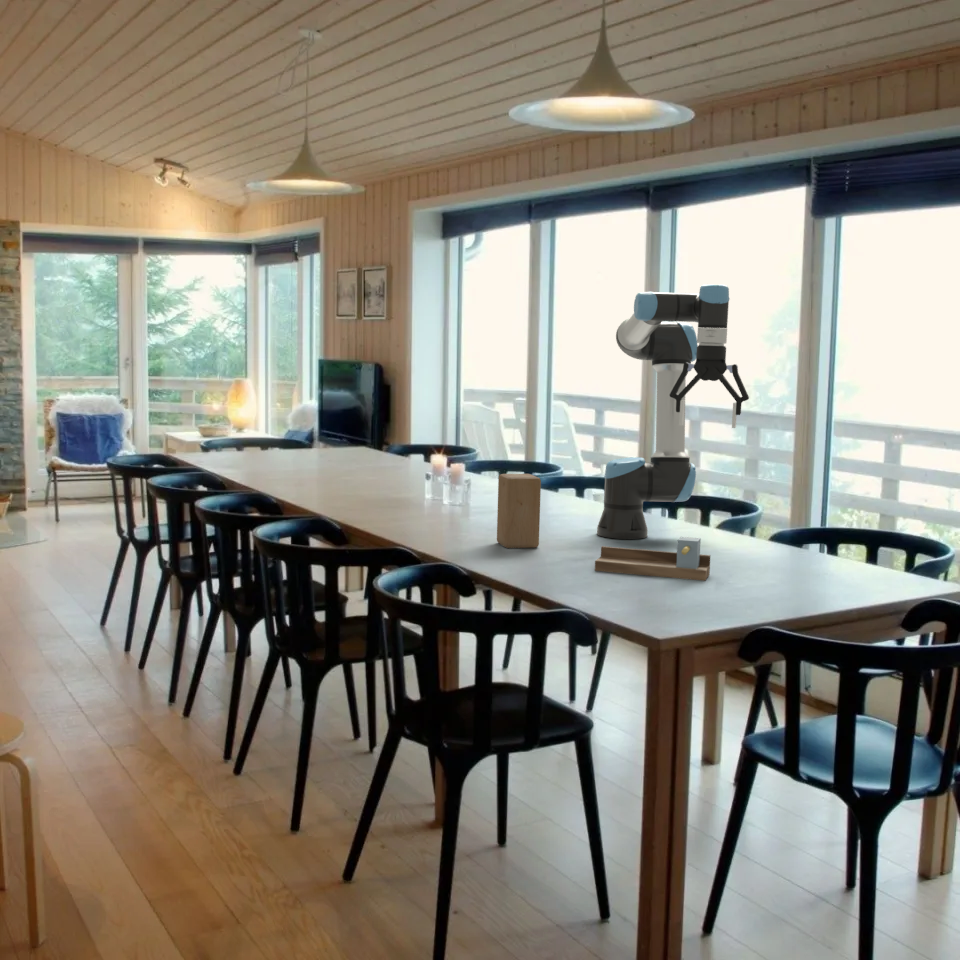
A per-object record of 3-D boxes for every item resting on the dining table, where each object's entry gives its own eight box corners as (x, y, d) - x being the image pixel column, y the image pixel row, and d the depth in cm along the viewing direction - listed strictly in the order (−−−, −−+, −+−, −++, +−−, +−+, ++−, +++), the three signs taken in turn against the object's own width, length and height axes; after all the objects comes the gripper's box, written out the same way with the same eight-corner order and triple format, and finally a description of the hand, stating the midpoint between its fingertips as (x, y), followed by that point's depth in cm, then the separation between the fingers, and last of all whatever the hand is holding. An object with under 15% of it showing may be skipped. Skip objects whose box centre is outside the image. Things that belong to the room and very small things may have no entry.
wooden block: (505, 549, 318) (507, 477, 315) (495, 542, 327) (497, 473, 325) (539, 548, 321) (542, 477, 318) (528, 541, 330) (531, 473, 328)
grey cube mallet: (679, 563, 291) (680, 536, 290) (699, 565, 289) (700, 538, 288) (673, 571, 281) (674, 543, 281) (693, 572, 280) (694, 544, 279)
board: (601, 564, 299) (602, 546, 299) (709, 574, 291) (710, 555, 290) (594, 570, 292) (595, 551, 291) (705, 580, 283) (706, 560, 282)
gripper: (661, 343, 297) (657, 424, 300) (759, 346, 289) (754, 429, 292) (666, 343, 304) (662, 423, 307) (762, 346, 296) (757, 427, 299)
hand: (707, 426), depth 299 cm, fingers open, 13 cm apart
